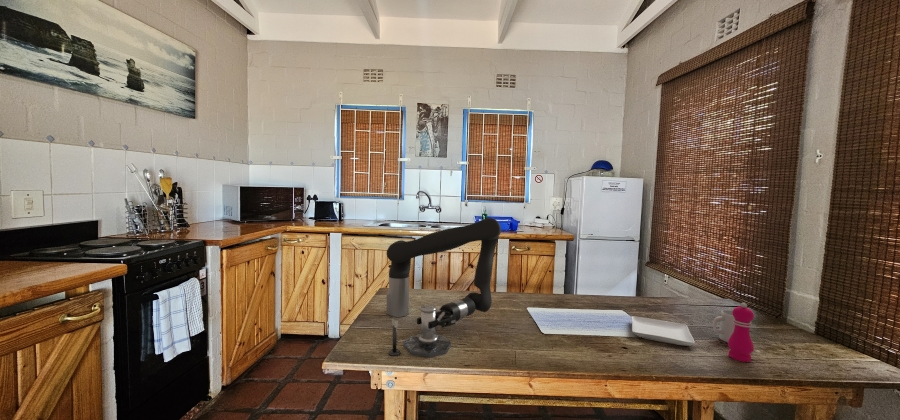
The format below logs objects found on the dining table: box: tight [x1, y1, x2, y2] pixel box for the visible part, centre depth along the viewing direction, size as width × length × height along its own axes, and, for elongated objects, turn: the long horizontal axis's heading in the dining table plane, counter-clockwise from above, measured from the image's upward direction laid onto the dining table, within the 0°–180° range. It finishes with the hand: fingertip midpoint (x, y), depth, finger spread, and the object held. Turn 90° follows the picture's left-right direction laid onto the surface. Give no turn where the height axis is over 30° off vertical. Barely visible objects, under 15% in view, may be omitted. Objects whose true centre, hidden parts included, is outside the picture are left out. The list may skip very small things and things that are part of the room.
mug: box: [712, 309, 735, 343], centre depth 145 cm, size 12×8×11 cm
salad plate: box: [630, 315, 696, 347], centre depth 150 cm, size 21×21×3 cm
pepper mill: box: [727, 302, 755, 363], centre depth 130 cm, size 7×7×20 cm
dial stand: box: [388, 317, 411, 357], centre depth 128 cm, size 8×4×12 cm, turn 119°
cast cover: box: [418, 304, 438, 343], centre depth 133 cm, size 7×7×12 cm
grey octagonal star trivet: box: [403, 334, 452, 359], centre depth 133 cm, size 16×16×2 cm
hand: (423, 323), depth 131 cm, fingers closed on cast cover, 5 cm apart
